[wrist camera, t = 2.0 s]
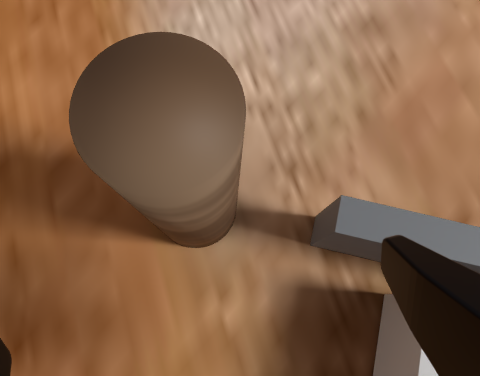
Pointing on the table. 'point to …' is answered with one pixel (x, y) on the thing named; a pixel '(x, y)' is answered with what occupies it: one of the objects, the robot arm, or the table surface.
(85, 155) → the dowel
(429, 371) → the socket block
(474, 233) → the backstop wall
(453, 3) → the table surface
